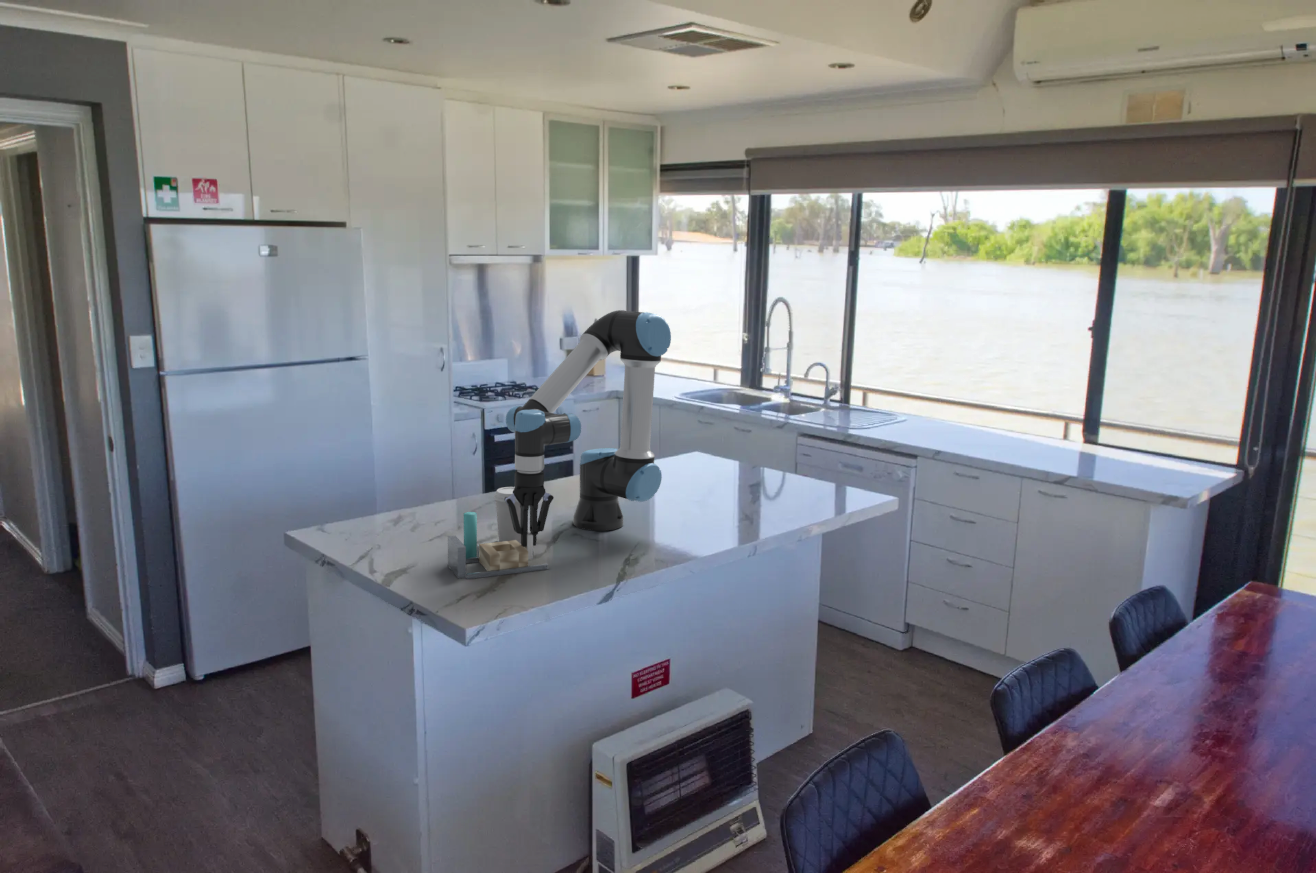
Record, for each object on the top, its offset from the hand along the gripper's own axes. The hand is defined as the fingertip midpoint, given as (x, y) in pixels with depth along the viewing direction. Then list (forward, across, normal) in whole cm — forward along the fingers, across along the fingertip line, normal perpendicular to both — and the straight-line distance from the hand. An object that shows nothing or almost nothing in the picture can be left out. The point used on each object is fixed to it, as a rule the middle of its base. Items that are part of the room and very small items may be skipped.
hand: (528, 557), depth 243 cm
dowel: (+2, +13, -10) cm, 16 cm away
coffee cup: (+2, -1, -19) cm, 19 cm away
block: (+2, +7, 0) cm, 7 cm away
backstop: (+2, +8, 0) cm, 9 cm away
